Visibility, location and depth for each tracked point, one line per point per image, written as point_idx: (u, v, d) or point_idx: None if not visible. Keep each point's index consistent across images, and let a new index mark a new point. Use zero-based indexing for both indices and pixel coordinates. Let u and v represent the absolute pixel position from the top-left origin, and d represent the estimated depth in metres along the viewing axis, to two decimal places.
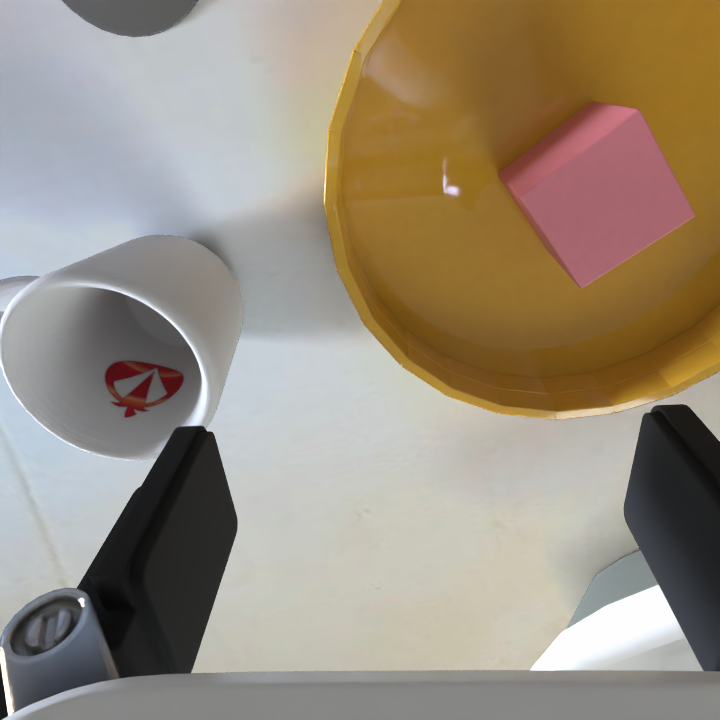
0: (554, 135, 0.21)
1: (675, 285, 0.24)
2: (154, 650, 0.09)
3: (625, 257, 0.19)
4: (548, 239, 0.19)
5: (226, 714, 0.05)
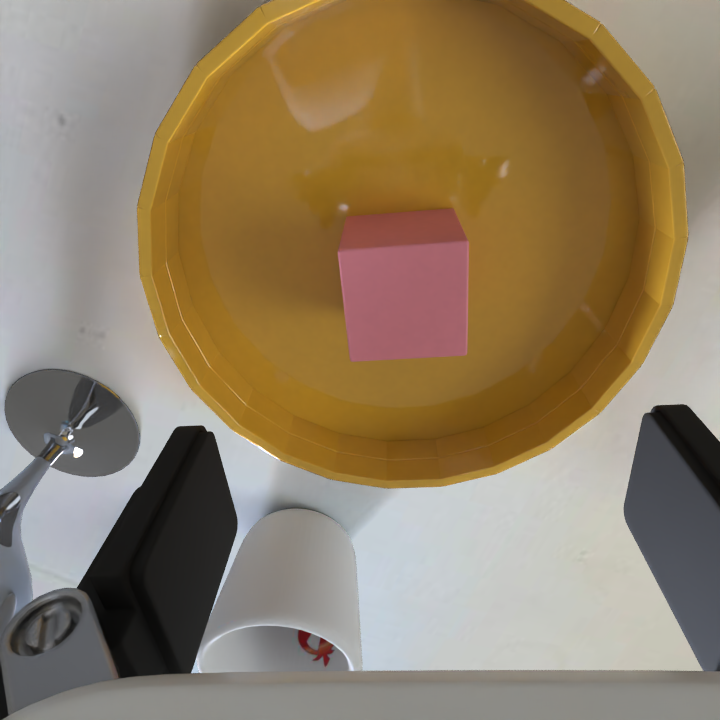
0: None
1: (576, 216, 0.21)
2: (154, 650, 0.09)
3: (463, 311, 0.19)
4: (402, 358, 0.20)
5: (226, 714, 0.05)
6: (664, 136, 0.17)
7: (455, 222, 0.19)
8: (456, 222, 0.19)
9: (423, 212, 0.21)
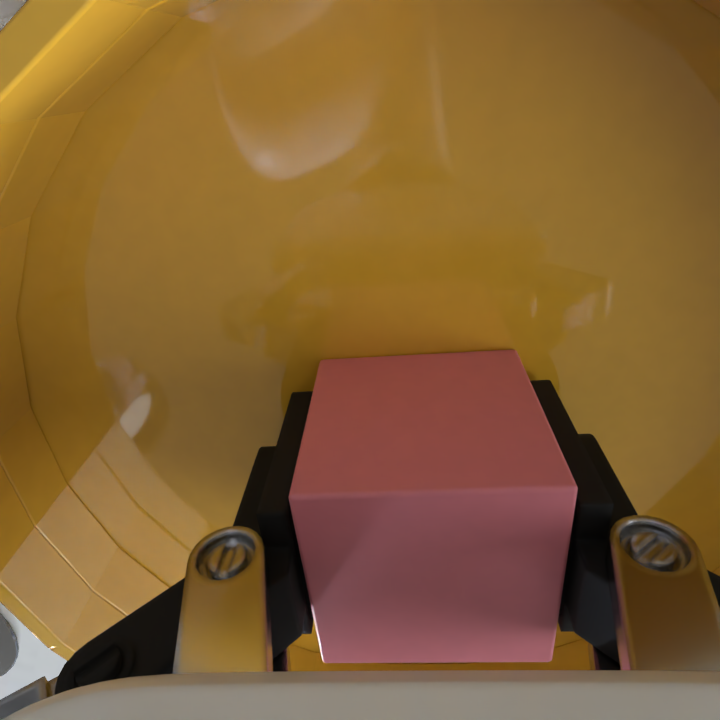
0: None
1: None
2: (301, 588, 0.10)
3: (554, 600, 0.09)
4: (423, 659, 0.10)
5: (226, 714, 0.05)
6: None
7: (530, 402, 0.10)
8: (532, 402, 0.10)
9: (461, 359, 0.11)
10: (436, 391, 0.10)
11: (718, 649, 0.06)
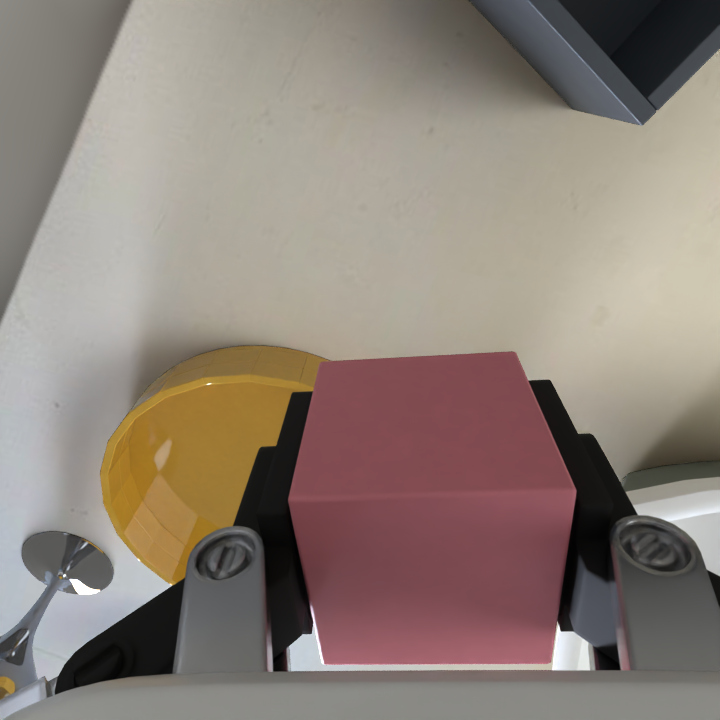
0: None
1: None
2: (301, 588, 0.10)
3: (552, 602, 0.09)
4: (422, 661, 0.10)
5: (226, 714, 0.05)
6: None
7: (530, 405, 0.10)
8: (532, 405, 0.10)
9: (460, 361, 0.11)
10: (435, 393, 0.10)
11: (718, 649, 0.06)
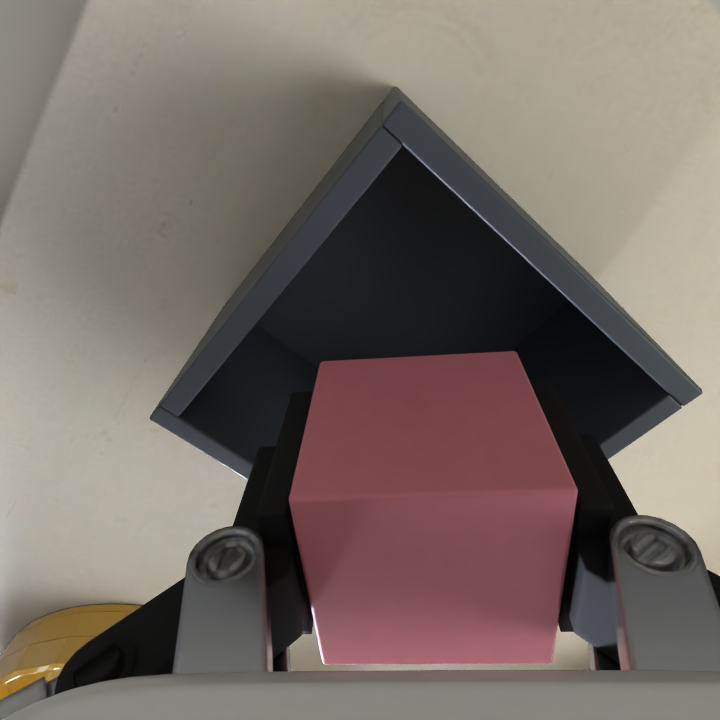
0: None
1: None
2: (301, 588, 0.10)
3: (554, 602, 0.09)
4: (423, 661, 0.10)
5: (226, 714, 0.05)
6: None
7: (530, 404, 0.10)
8: (532, 404, 0.10)
9: (461, 361, 0.11)
10: (436, 393, 0.10)
11: (718, 649, 0.06)
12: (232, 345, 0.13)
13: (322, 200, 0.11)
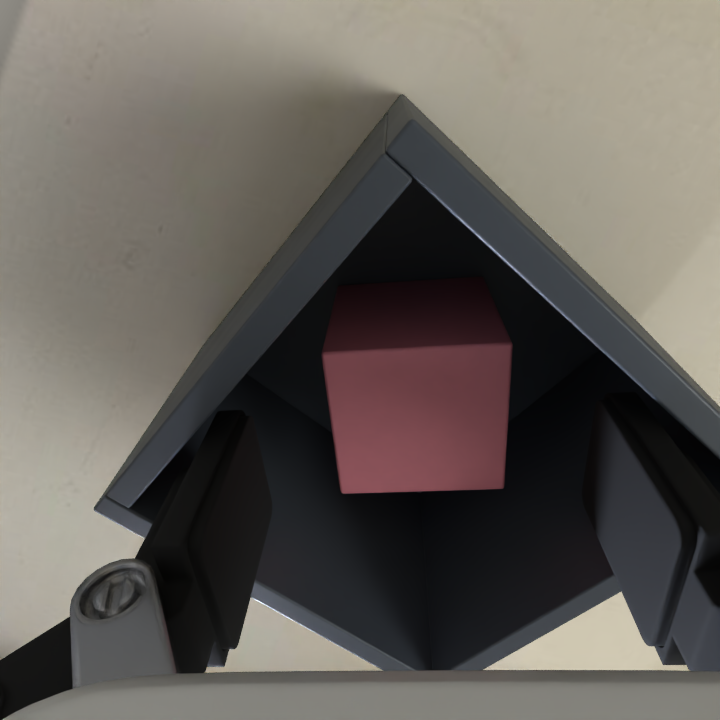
0: None
1: None
2: (207, 621, 0.09)
3: (502, 434, 0.13)
4: (413, 490, 0.14)
5: (226, 714, 0.05)
6: None
7: (488, 304, 0.14)
8: (489, 304, 0.14)
9: (442, 282, 0.15)
10: (422, 300, 0.14)
11: None
12: (192, 427, 0.10)
13: (305, 250, 0.08)
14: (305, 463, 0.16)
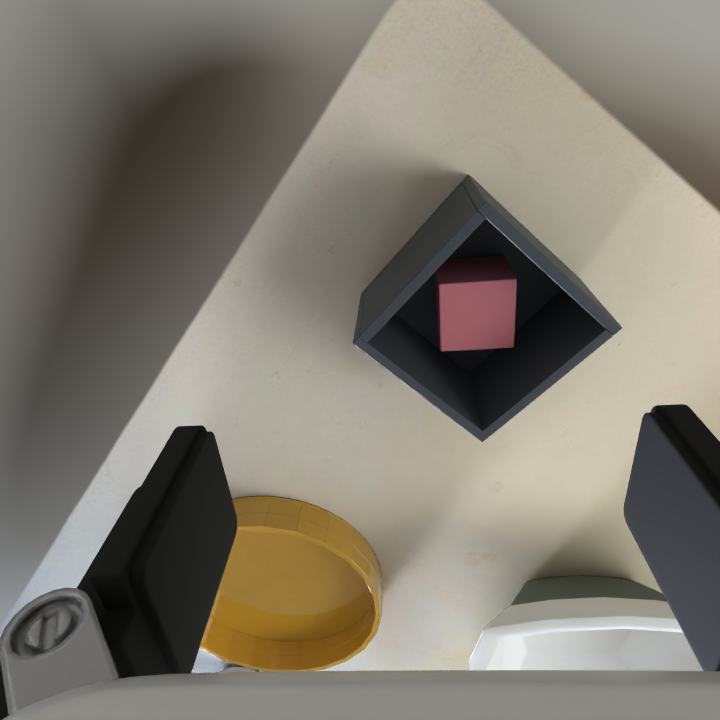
0: (435, 292, 0.34)
1: (348, 567, 0.48)
2: (154, 651, 0.09)
3: (512, 320, 0.31)
4: (473, 349, 0.32)
5: (226, 714, 0.05)
6: (358, 570, 0.44)
7: (506, 266, 0.32)
8: (507, 266, 0.32)
9: (484, 258, 0.33)
10: (477, 265, 0.32)
11: None
12: (400, 305, 0.28)
13: (449, 240, 0.26)
14: (417, 346, 0.34)
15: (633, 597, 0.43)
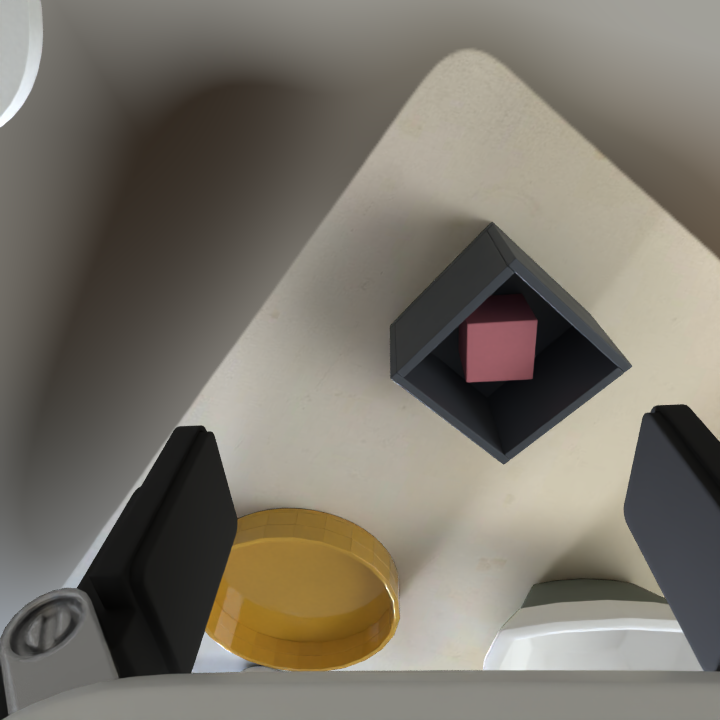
0: (459, 326, 0.37)
1: (367, 573, 0.52)
2: (154, 650, 0.09)
3: (532, 355, 0.34)
4: (495, 380, 0.35)
5: (226, 714, 0.05)
6: (379, 576, 0.47)
7: (526, 305, 0.35)
8: (527, 305, 0.35)
9: (505, 296, 0.36)
10: (499, 303, 0.35)
11: None
12: (435, 346, 0.31)
13: (481, 291, 0.29)
14: (443, 375, 0.38)
15: (633, 599, 0.46)
